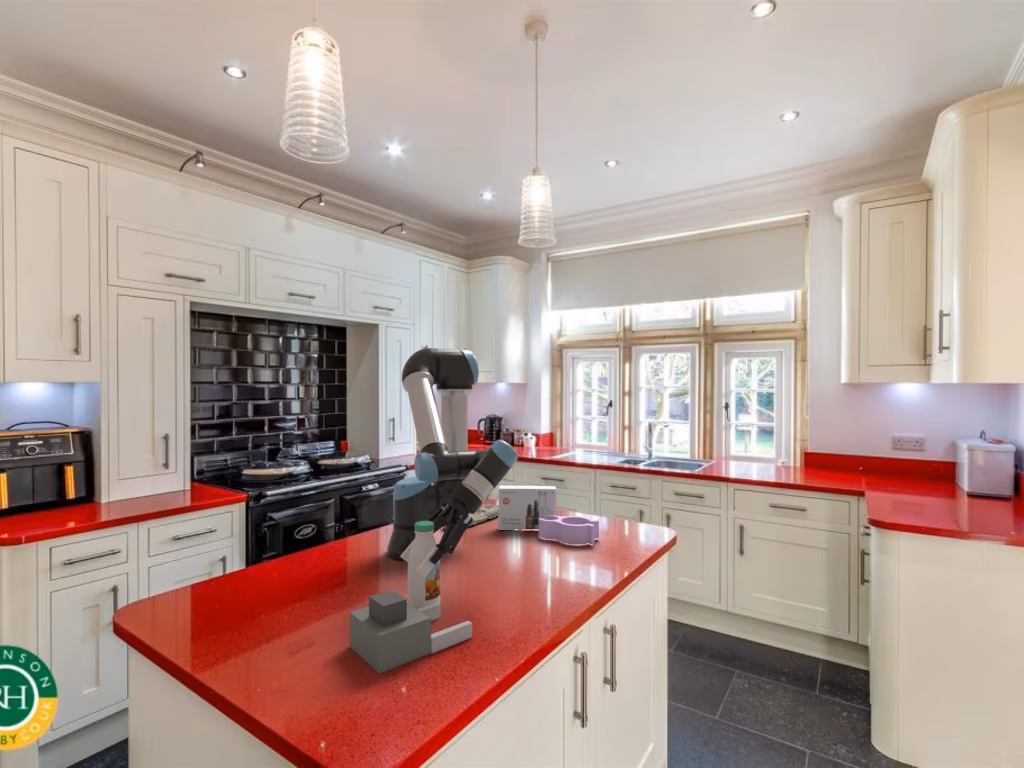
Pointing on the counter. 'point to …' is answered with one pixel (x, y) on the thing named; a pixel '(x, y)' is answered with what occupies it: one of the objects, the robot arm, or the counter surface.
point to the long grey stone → (483, 513)
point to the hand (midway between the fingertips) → (412, 566)
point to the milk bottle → (419, 587)
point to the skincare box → (524, 506)
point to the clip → (569, 529)
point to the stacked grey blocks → (399, 631)
